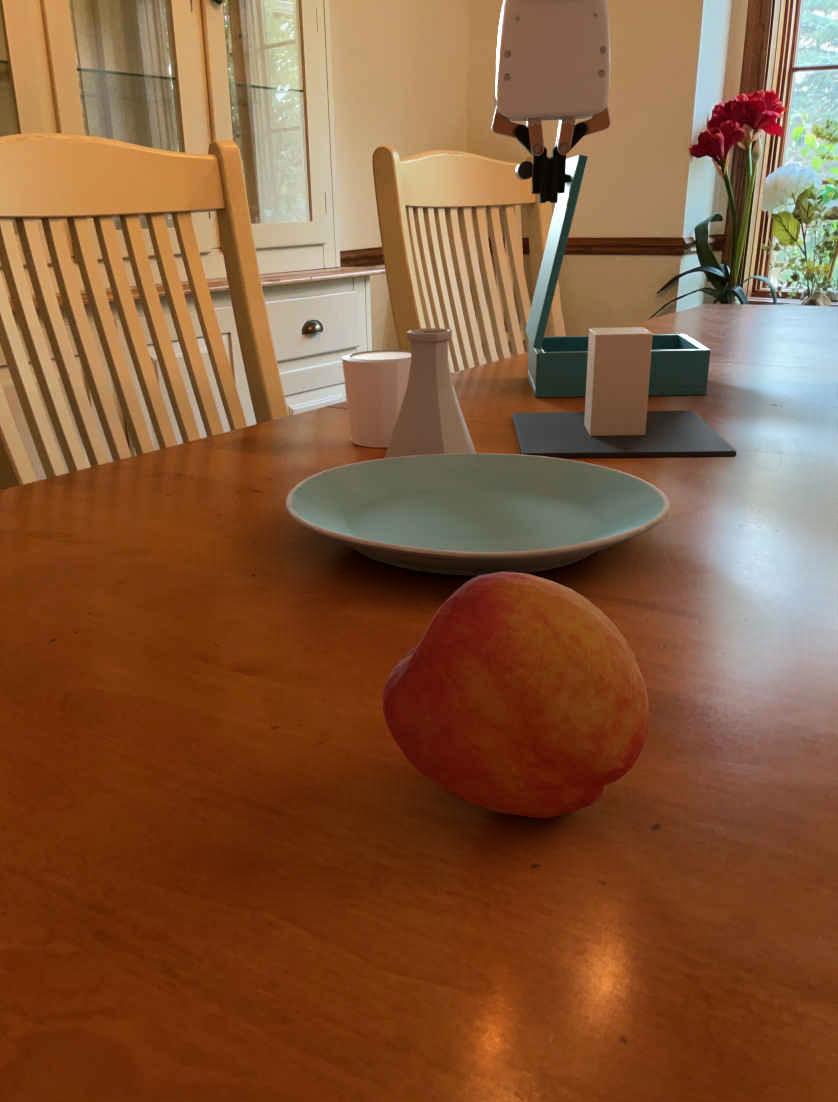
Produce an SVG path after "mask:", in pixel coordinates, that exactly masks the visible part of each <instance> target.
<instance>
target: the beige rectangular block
mask: <svg viewBox="0 0 838 1102" xmlns="http://www.w3.org/2000/svg"><path fill="white" fill-rule="evenodd" d="M653 334H654V333H652V332H651V331H649V330H648V329H647V328H645V327H644V326H625V327H623V326H622V327H619V326H618V327H589V328H588V336H589V341H588V360H587V380H586V397H585V398H584V399H585V400H584V401H585V402H584V404H585V405H584V412H585V418H584V425H585V427H586V429H587V431H588V433H589V434H590V436H630V435H645V429H646V416H647V411H648V402H649V401H648V400H649V396H648V389H649V376H650V363H651V349H652V336H653Z"/></svg>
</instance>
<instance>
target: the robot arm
mask: <svg viewBox="0 0 838 1102" xmlns="http://www.w3.org/2000/svg"><path fill="white" fill-rule="evenodd" d="M609 11H610V10H609V3H608V0H502V5H501V11H500V16H499V21H498V22H499V24H498V31H497V39H496V41H497V42H496V43H497V44H496V55H495V56H496V57H495V74H494V75H495V76H494V109H495V111H494V115H493V119H492V124H491V132H492V133H493V134H495V135H499V136H501V137H502V136H503V137H507V138H509V139H510V138H511V139H515V140H517V141H518V143H519V144H521V146H522V147H523V148H524V149H525V150H526V151H527V152H528V154H529V155H530V156H531V157H532V160H531V163H532V177H531V195H537V203H538V204H546V203H547V202H549V204H556V203H557V200H558V193H564V192H565V174H566V159H567V155H568V154H569V153H570V151H571V150H572V149H573V148H574V147H575V146H576V145H577V144H578V143H579V142H580V141H581V140H582V139H583V138H584V137H586V136H588V135H592V134H596V133H598V132H602V131H605V130H608V129H609V128H610V126H611V117H610V111H609V106H608V105H609V100H610V90H611V89H610V88H611V28H610V27H611V26H610V13H609ZM581 119H586V120H583V121H580V122H577V123H576V120H581ZM542 121H558V127H557V132H556V139H555V145H554V147H553V148H552V149H551V156H548V148H547V147H546V146H545V143H544V131H543V122H542ZM516 122H525V124H521V123H516Z"/></svg>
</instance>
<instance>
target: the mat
mask: <svg viewBox="0 0 838 1102" xmlns="http://www.w3.org/2000/svg"><path fill="white" fill-rule="evenodd" d="M584 418H585V411H561V412H560V411H556V412H555V411H554V412H548V411H547V412H546V411H545V412H512V420H513V424H514V429H515V433H516V437H517V441H518V442H517V443H518V446H519V449H520V455H534V456H545V457H553V458H561V459H575V458H576V459H577V458H578V459H579V458H582V459H587V458H590V459H592V458H673V457H674V458H675V457H676V458H677V457H678V458H679V457H680V458H683V457H685V458H687V457H693V458H694V457H736V456H737V450H736V449H735V448H734V447H733V446H732V445H731V444H730V443H729V442H728V441H726V440H725V439H724V438H723V437H722V436H721V435H719V434H718V432H717V431H715V430H714V429H713V428H712V426H711V425H709V424H708V423H707V422H706V421H705V420H703V418H702V417H700V416H699V414H697V413H696V412H695V411H694V410H691V409H690V410H647V416H646V429H645V435H630V436H590V434H589V433H588V431H587V429H586V427H585V425H584Z"/></svg>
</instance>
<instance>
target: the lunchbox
mask: <svg viewBox="0 0 838 1102" xmlns="http://www.w3.org/2000/svg"><path fill="white" fill-rule="evenodd" d="M652 334H653V336H652V349H651V363H650V376H649V389H648V397H649V396H650V397H651V396H652V397H653V396H654V397H657V396H661V397H662V396H706V395H707V392H708V380H709V371H710V359H711V349H710V348H708V347H706V346H705V345H703V344H702V343H700V342H698V341H697V340H695V339H694V338H692V337H690V336H689V335H687V334H685V333H652ZM588 341H589V335H558V336H557V335H556V336H554V335H553V336H551V335H550V336H544V338H543V342H542V346H541V349H537V348H533V346H532V344H531V342H530V340H529V339H528V341H527V342H528V343H527V345H528V346H527V352H528V353H527V374H526V375H527V376H526V377H527V379H528V382H529V384H530V388H531V390H532V393H533V395H534V397H535V398H586V380H587V360H588Z"/></svg>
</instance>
